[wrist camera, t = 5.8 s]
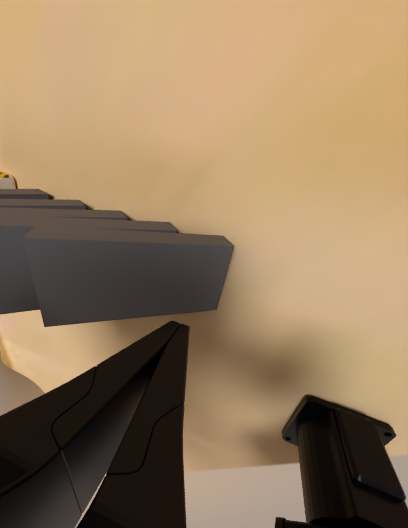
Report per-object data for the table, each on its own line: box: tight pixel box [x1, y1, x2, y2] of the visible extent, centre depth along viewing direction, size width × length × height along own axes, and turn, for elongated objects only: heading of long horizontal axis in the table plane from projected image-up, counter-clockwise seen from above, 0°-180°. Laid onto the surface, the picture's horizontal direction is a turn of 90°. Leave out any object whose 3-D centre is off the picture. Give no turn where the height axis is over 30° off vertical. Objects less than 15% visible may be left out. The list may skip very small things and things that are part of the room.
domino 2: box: [0, 215, 177, 314], centre depth 12 cm, size 5×2×10 cm
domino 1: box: [23, 225, 234, 327], centre depth 12 cm, size 5×2×10 cm
